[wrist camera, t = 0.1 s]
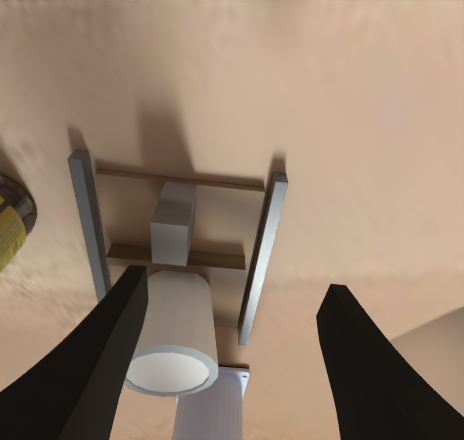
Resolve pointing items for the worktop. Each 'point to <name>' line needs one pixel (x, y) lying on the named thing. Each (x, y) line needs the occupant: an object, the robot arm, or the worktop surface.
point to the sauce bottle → (14, 219)
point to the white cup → (175, 338)
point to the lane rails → (96, 248)
